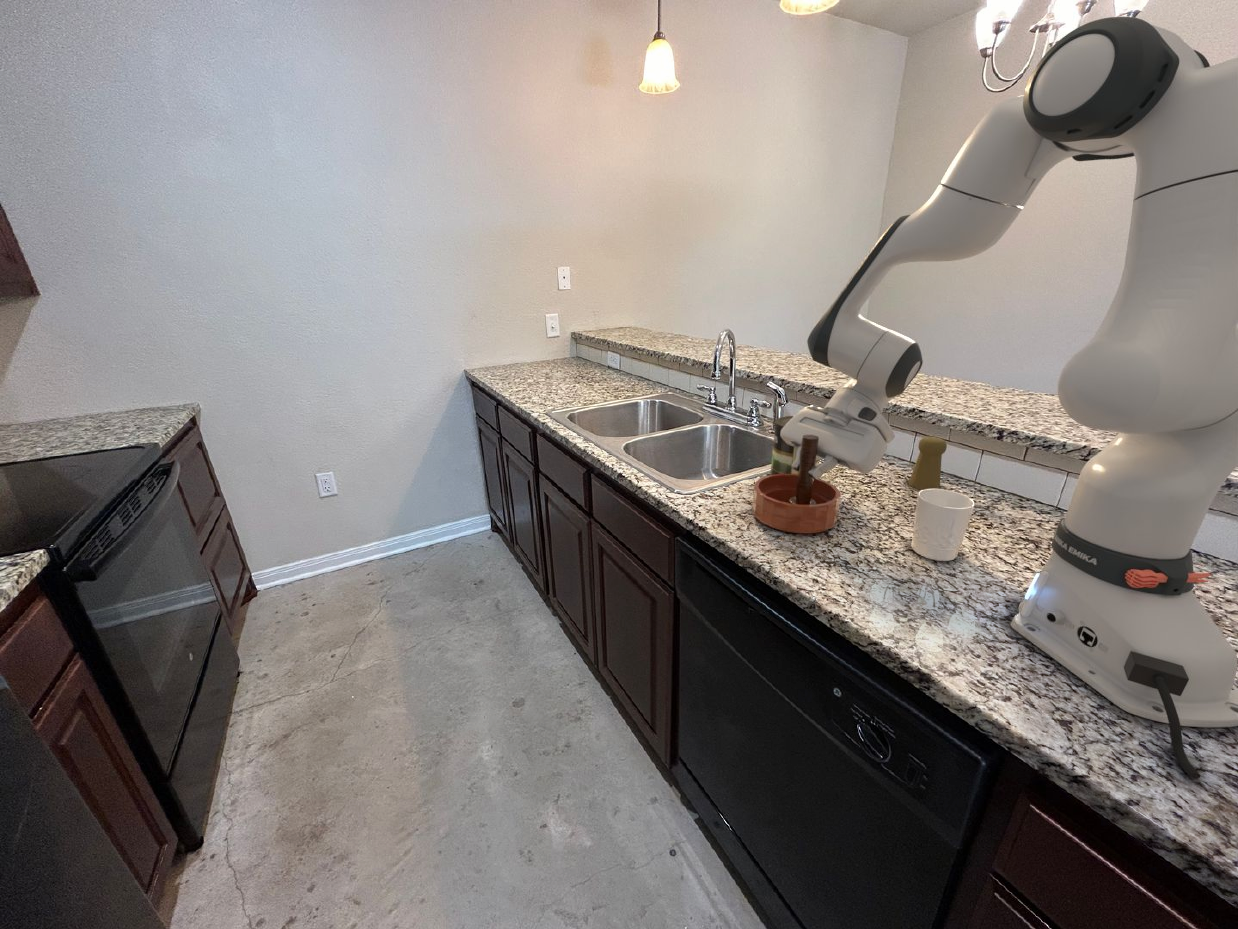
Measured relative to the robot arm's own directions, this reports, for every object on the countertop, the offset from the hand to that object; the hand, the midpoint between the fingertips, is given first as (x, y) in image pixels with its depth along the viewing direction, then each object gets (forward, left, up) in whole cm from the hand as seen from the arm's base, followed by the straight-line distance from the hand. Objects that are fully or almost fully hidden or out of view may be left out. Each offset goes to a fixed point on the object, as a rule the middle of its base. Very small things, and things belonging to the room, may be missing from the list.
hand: (803, 473), depth 93 cm
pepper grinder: (+17, -33, -10) cm, 38 cm away
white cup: (-11, -20, -10) cm, 25 cm away
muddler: (0, -1, -9) cm, 9 cm away
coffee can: (+20, -5, -10) cm, 23 cm away
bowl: (+2, 0, -10) cm, 10 cm away
